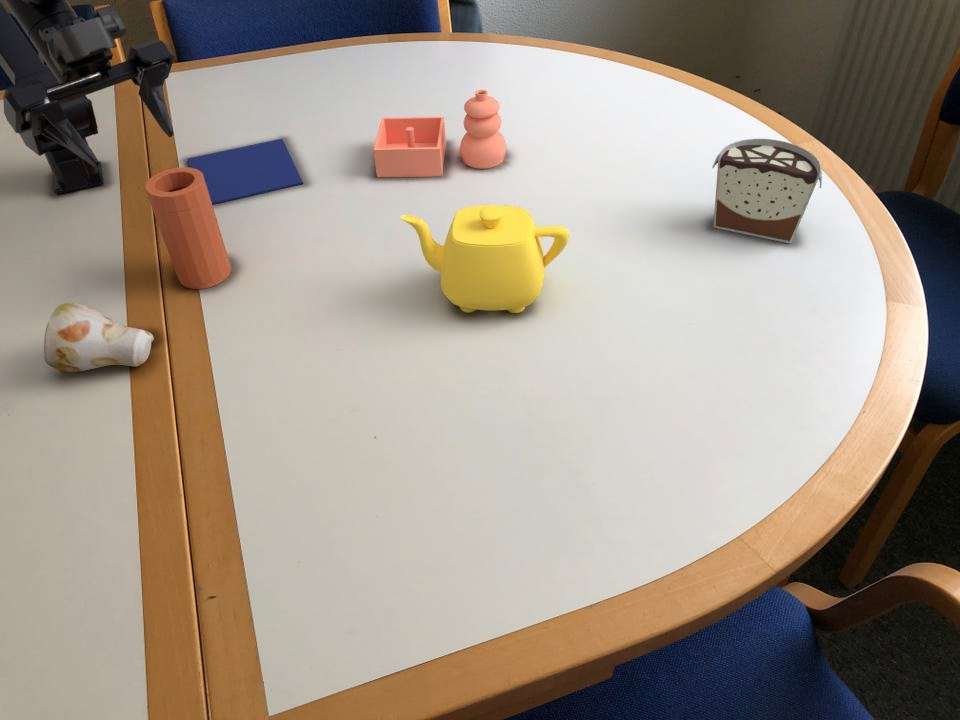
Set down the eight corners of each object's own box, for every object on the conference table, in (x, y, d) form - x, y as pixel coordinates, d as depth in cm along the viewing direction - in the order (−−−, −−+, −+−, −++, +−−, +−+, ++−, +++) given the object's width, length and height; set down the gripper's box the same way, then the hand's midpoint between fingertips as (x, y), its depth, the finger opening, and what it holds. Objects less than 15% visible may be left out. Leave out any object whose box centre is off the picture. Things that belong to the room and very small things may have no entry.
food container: (811, 220, 99) (833, 147, 92) (803, 246, 95) (825, 172, 88) (712, 200, 103) (726, 129, 96) (701, 224, 99) (714, 152, 92)
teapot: (403, 322, 87) (392, 241, 80) (415, 262, 95) (406, 184, 88) (567, 324, 86) (571, 242, 79) (565, 264, 94) (569, 184, 87)
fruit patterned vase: (155, 384, 82) (70, 334, 75) (94, 402, 86) (9, 357, 79) (174, 324, 86) (96, 272, 79) (115, 345, 90) (36, 297, 83)
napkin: (187, 160, 116) (187, 158, 116) (282, 140, 119) (282, 138, 119) (200, 207, 106) (200, 205, 106) (303, 183, 110) (302, 182, 110)
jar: (176, 265, 97) (142, 174, 88) (227, 253, 98) (199, 162, 90) (182, 294, 92) (147, 201, 84) (235, 281, 94) (207, 188, 85)
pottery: (377, 177, 110) (367, 110, 104) (385, 144, 117) (376, 79, 111) (506, 175, 110) (505, 108, 103) (506, 142, 117) (505, 77, 110)
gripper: (-36, 11, 77) (59, 152, 79) (139, -37, 86) (221, 89, 88) (-30, 68, 86) (55, 192, 88) (128, 19, 96) (201, 132, 98)
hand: (135, 150), depth 90 cm, fingers open, 9 cm apart
